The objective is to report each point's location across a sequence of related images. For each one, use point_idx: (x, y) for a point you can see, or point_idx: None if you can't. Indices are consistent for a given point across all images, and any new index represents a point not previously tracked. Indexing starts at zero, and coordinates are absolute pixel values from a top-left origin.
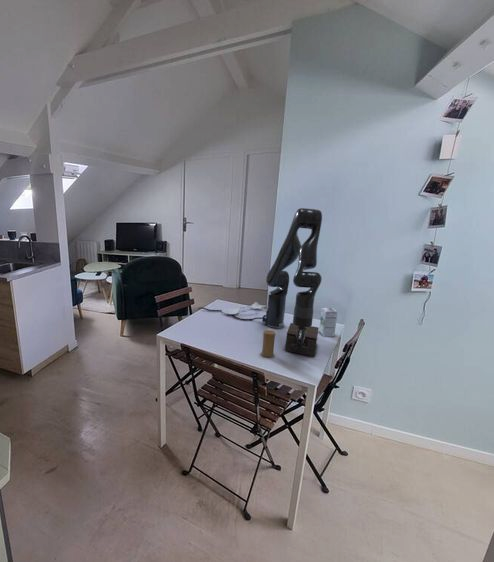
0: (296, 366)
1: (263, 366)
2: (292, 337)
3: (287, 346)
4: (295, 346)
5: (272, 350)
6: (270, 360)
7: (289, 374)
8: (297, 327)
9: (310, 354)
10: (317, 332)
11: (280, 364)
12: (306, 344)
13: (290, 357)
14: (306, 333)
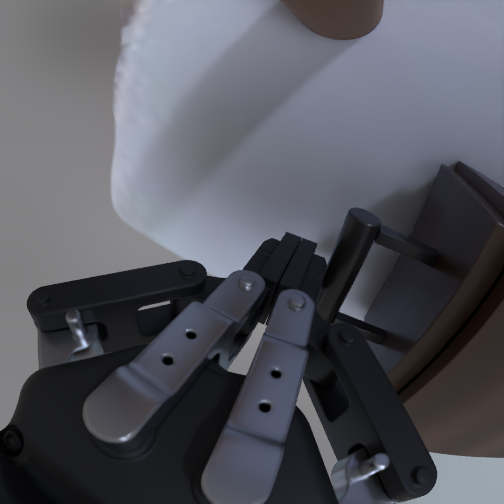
0: (218, 178)
1: (158, 4)
2: (460, 271)
3: (449, 180)
4: (338, 238)
5: (293, 12)
6: (246, 21)
7: (128, 132)
8: (200, 490)
9: (371, 309)
10: (455, 454)
11: (210, 83)
12: (380, 341)
13: (344, 167)
14: (466, 414)
